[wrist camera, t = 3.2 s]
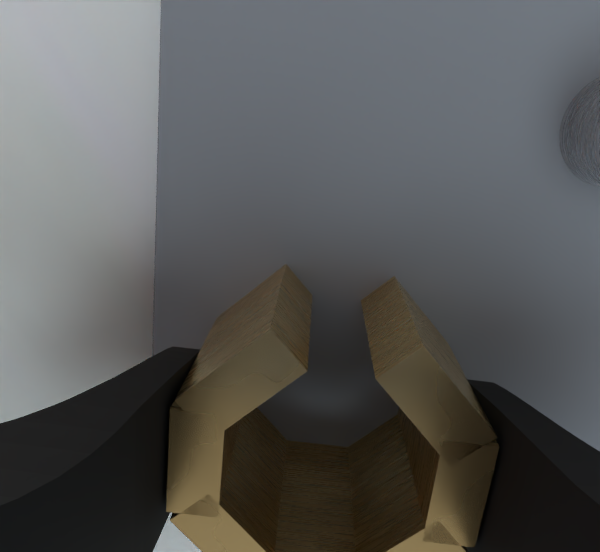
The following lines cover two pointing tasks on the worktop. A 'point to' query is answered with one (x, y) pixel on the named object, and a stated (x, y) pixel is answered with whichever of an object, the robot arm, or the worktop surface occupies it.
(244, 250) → the mat
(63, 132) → the worktop surface
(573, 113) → the piston post
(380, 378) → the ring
